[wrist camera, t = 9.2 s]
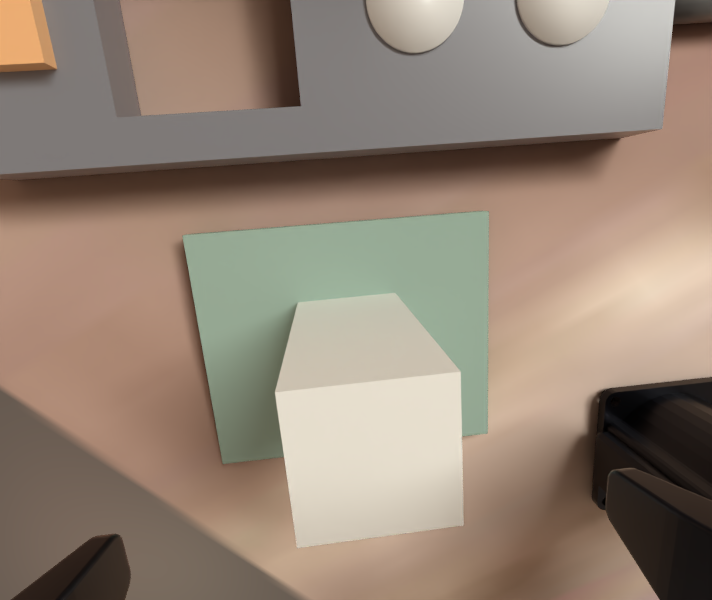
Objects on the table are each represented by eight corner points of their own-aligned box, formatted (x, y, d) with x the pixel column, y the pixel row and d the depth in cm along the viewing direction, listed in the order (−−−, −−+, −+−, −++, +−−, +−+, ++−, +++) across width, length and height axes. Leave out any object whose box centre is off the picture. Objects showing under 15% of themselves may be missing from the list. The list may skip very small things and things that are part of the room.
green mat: (480, 210, 17) (488, 210, 16) (480, 423, 19) (487, 433, 18) (189, 234, 16) (182, 235, 15) (227, 453, 18) (222, 463, 18)
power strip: (746, -131, 15) (835, -201, 12) (712, 131, 17) (782, 118, 14) (-63, -110, 13) (-157, -187, 10) (15, 180, 15) (-47, 175, 12)
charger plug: (395, 292, 16) (460, 371, 9) (400, 382, 17) (464, 525, 10) (297, 302, 16) (274, 392, 8) (308, 392, 17) (297, 547, 9)
